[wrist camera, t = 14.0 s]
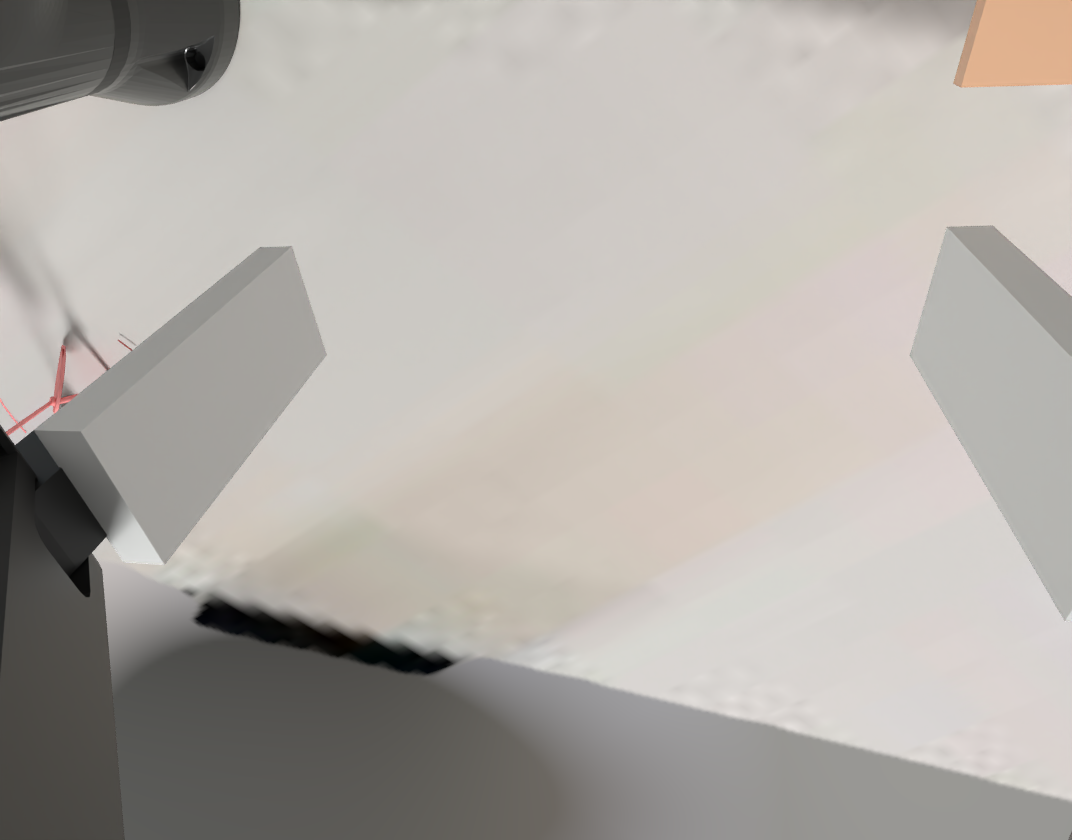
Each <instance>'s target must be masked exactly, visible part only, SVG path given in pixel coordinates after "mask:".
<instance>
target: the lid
mask: <svg viewBox="0 0 1072 840" xmlns="http://www.w3.org/2000/svg"><path fill="white" fill-rule="evenodd" d="M953 84H955V85H957V86H959V87H993V86H1028V85H1063V84H1072V0H977V2H976V6H975V9H974V13H973V16H972V20H971V23H970V27H969V30H968V34H967V37H966V41H965V44H964V48H963V51H962V55H961V58H960V62H959V65H958V69H957V72H956V76H955V79H954V83H953Z"/></svg>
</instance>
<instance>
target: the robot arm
mask: <svg viewBox="0 0 1072 840" xmlns="http://www.w3.org/2000/svg"><path fill="white" fill-rule="evenodd" d="M238 29H239V2H238V0H0V121H3V120H7V119H10V118H13V117H17V116H20V115H24V114H27V113H30V112H34V111H37V110H41V109H44V108H47V107H51V106H54V105H58V104H61V103H64V102H68V101H71V100H75V99H77V98H81V97H84V96H88V95H90V96H95V97H101V98H106V99H111V100H116V101H122V102H127V103H132V104H137V105H145V106H159V105H168V104H173V103H177V102H180V101H183V100H186V99H189V98H192V97H195V96H197V95H199V94H201V93H203V92H205V91H206V90H208V89H209V88H211V87H212V86H213V85H214V84H215V83H216V82H217V81H218V80H219V79H220V78H221V76H222V75H223V74H224V72H225V70H226V69H227V67H228V65H229V63H230V61H231V59H232V56H233V53H234V50H235V47H236V42H237V37H238ZM325 356H326V351H325V348H324V345H323V342H322V339H321V336H320V333H319V330H318V327H317V323H316V320H315V317H314V314H313V311H312V308H311V305H310V302H309V298H308V295H307V292H306V289H305V286H304V283H303V280H302V277H301V274H300V270H299V267H298V264H297V261H296V258H295V255H294V252H293V249H292V246H290V247H260V248H258V249H257V250H256V251H255V252H254V253H252V254H251V255H250V256H249V257H247V258H246V259H245V260H244V261H242V262H241V263H240V264H239V265H237V266H236V267H235V268H234V269H233V270H231V271H230V272H229V273H228V274H226V275H225V276H224V277H223V278H221V279H220V280H219V281H218V282H216V283H215V284H214V285H213V286H211V287H210V288H209V289H208V290H207V291H205V292H204V293H203V294H202V295H200V296H199V297H198V298H197V299H195V300H194V301H193V302H192V303H190V304H189V305H188V306H187V307H186V308H184V309H183V310H182V311H181V312H179V313H178V314H177V315H176V316H174V317H173V318H172V319H171V320H169V321H168V322H167V323H166V324H165V325H163V326H162V327H161V328H160V329H158V330H157V331H156V332H155V333H153V334H152V335H151V336H150V337H148V338H147V339H146V340H145V341H143V342H142V343H141V344H140V345H139V346H137V347H136V348H135V349H134V350H132V351H131V352H130V353H129V354H127V355H126V356H125V357H124V358H122V359H121V360H120V361H119V362H118V363H116V364H115V365H114V366H113V367H111V368H110V369H109V370H108V371H106V372H105V373H104V374H103V375H101V376H100V377H99V378H98V379H97V380H95V381H94V382H93V383H92V384H90V385H89V386H88V387H87V388H85V389H84V390H83V391H82V392H80V393H79V394H78V395H77V396H75V397H74V398H73V399H72V400H71V401H69V402H68V403H67V404H66V405H64V406H63V407H62V408H61V409H59V410H58V411H57V412H56V413H54V414H53V415H52V416H51V417H50V418H48V419H47V420H46V421H45V422H43V423H42V424H41V425H40V426H38V427H37V428H36V429H35V430H34V431H32V432H31V433H30V434H29V435H27V436H26V437H25V438H24V439H22V440H21V441H20V442H19V443H17V444H16V445H14V443H13V442H12V441H11V439H10V438H9V436H8V435H7V434H6V432H5V431H4V429H3V428H2V427H1V425H0V840H125V839H124V827H123V815H122V803H121V791H120V780H119V767H118V756H117V743H116V731H115V719H114V707H113V695H112V684H111V672H110V659H109V647H108V635H107V623H106V611H105V599H104V588H103V575H102V569H101V567H100V565H99V563H98V561H97V560H96V558H95V557H94V555H93V554H92V552H93V551H94V550H95V549H96V547H97V546H98V545H99V544H100V543H101V542H102V541H103V540H104V539H105V537H107V539H108V540H109V542H110V543H111V545H112V546H113V548H114V549H115V551H116V552H117V554H118V555H119V556H120V558H121V559H122V561H123V562H126V563H142V564H158V565H165V564H166V562H167V561H168V560H169V559H170V557H171V556H172V555H173V553H174V552H175V551H176V549H177V548H178V547H179V546H180V544H181V543H182V542H183V540H184V539H185V538H186V536H187V535H188V534H189V533H190V531H191V530H192V529H193V527H194V526H195V525H196V524H197V522H198V521H199V520H200V518H201V517H202V516H203V514H204V513H205V512H206V511H207V509H208V508H209V507H210V505H211V504H212V503H213V502H214V500H215V499H216V498H217V496H218V495H219V494H220V492H221V491H222V490H223V489H224V487H225V486H226V485H227V483H228V482H229V481H230V479H231V478H232V477H233V476H234V474H235V473H236V472H237V470H238V469H239V468H240V467H241V465H242V464H243V463H244V461H245V460H246V459H247V457H248V456H249V455H250V454H251V452H252V451H253V450H254V448H255V447H256V446H257V445H258V443H259V442H260V441H261V439H262V438H263V437H264V435H265V434H266V433H267V432H268V430H269V429H270V428H271V426H272V425H273V424H274V422H275V421H276V420H277V419H278V417H279V416H280V415H281V413H282V412H283V411H284V410H285V408H286V407H287V406H288V404H289V403H290V402H291V400H292V399H293V398H294V397H295V395H296V394H297V393H298V391H299V390H300V389H301V387H302V386H303V385H304V384H305V382H306V381H307V380H308V378H309V377H310V376H311V375H312V373H313V372H314V371H315V369H316V368H317V367H318V365H319V364H320V363H321V362H322V360H323V359H324V358H325ZM910 357H911V359H912V360H913V362H914V364H915V365H916V367H917V369H918V370H919V372H920V374H921V376H922V377H923V379H924V381H925V382H926V384H927V386H928V388H929V389H930V391H931V393H932V394H933V396H934V398H935V400H936V401H937V403H938V405H939V406H940V408H941V410H942V412H943V413H944V415H945V417H946V418H947V420H948V422H949V424H950V425H951V427H952V429H953V430H954V432H955V434H956V436H957V437H958V439H959V441H960V442H961V444H962V446H963V448H964V449H965V451H966V453H967V454H968V456H969V458H970V460H971V461H972V463H973V465H974V466H975V468H976V470H977V472H978V473H979V475H980V477H981V478H982V480H983V482H984V484H985V485H986V487H987V489H988V490H989V492H990V494H991V496H992V497H993V499H994V501H995V502H996V504H997V506H998V508H999V509H1000V511H1001V513H1002V514H1003V516H1004V518H1005V520H1006V521H1007V523H1008V525H1009V526H1010V528H1011V530H1012V532H1013V533H1014V535H1015V537H1016V538H1017V540H1018V542H1019V544H1020V545H1021V547H1022V549H1023V550H1024V552H1025V554H1026V555H1027V557H1028V559H1029V561H1030V562H1031V564H1032V566H1033V567H1034V569H1035V571H1036V573H1037V574H1038V576H1039V578H1040V579H1041V581H1042V583H1043V585H1044V586H1045V588H1046V590H1047V591H1048V593H1049V595H1050V597H1051V598H1052V600H1053V602H1054V603H1055V605H1056V607H1057V609H1058V610H1059V612H1060V614H1061V615H1062V617H1063V619H1064V621H1069V622H1072V296H1070V295H1069V294H1068V293H1067V292H1066V291H1065V290H1064V289H1063V288H1061V287H1060V286H1059V285H1058V284H1057V283H1056V282H1055V281H1054V280H1053V279H1051V278H1050V277H1049V276H1048V275H1047V274H1046V273H1045V272H1044V271H1043V270H1041V269H1040V268H1039V267H1038V266H1037V265H1036V264H1035V263H1034V262H1033V261H1031V260H1030V259H1029V258H1028V257H1027V256H1026V255H1025V254H1024V253H1023V252H1021V251H1020V250H1019V249H1018V248H1017V247H1016V246H1015V245H1014V244H1013V243H1011V242H1010V241H1009V240H1008V239H1007V238H1006V237H1005V236H1004V235H1003V234H1001V233H1000V232H999V231H998V230H997V229H996V228H995V227H994V226H964V227H947V229H946V232H945V235H944V239H943V242H942V246H941V249H940V253H939V256H938V260H937V263H936V267H935V270H934V273H933V277H932V280H931V284H930V287H929V291H928V294H927V298H926V301H925V305H924V308H923V311H922V315H921V318H920V322H919V325H918V329H917V332H916V336H915V339H914V343H913V346H912V350H911V353H910ZM1069 840H1072V833H1071V835H1070V837H1069Z"/></svg>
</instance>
